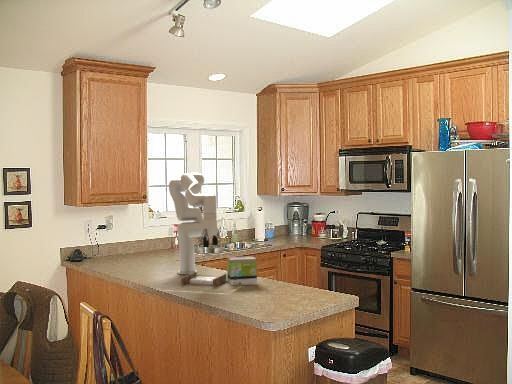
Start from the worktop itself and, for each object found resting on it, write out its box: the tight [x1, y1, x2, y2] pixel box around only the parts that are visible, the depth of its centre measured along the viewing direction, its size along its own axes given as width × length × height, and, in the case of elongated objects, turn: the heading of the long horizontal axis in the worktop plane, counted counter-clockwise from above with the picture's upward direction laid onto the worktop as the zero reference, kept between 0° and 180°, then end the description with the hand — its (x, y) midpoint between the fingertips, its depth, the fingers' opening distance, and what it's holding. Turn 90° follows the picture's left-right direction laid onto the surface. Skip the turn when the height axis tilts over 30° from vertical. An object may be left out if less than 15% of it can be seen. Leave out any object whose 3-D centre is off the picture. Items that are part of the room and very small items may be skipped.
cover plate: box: [190, 275, 217, 285], centre depth 306 cm, size 10×14×2 cm
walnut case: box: [180, 272, 227, 288], centre depth 305 cm, size 17×20×5 cm
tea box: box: [226, 256, 258, 286], centre depth 305 cm, size 15×10×15 cm, turn 105°
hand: (210, 246), depth 311 cm, fingers open, 9 cm apart
